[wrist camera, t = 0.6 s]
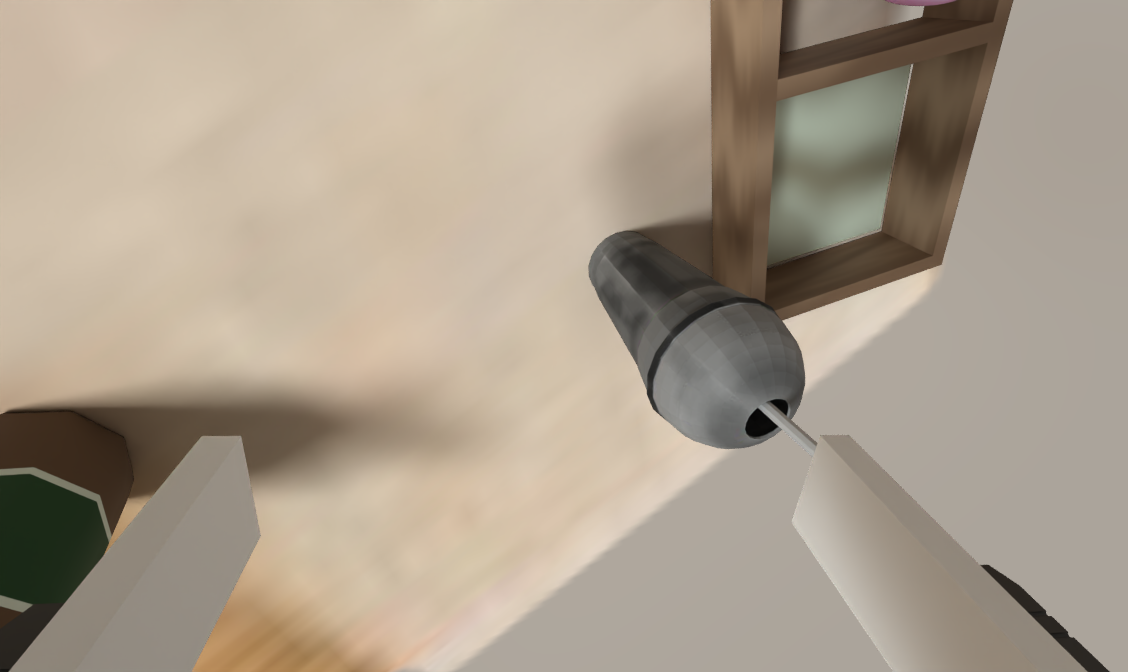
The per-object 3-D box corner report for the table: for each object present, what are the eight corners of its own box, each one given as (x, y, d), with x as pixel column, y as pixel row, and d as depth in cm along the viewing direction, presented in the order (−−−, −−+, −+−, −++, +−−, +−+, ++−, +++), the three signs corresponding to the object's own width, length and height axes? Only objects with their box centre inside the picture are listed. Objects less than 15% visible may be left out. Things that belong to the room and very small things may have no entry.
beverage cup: (580, 329, 37) (756, 598, 21) (555, 232, 32) (753, 479, 16) (678, 291, 38) (918, 521, 22) (666, 192, 33) (955, 389, 17)
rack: (708, -303, 22) (778, -357, 18) (1008, -344, 24) (1121, -399, 21) (712, 299, 39) (749, 331, 35) (890, 239, 41) (941, 264, 38)
